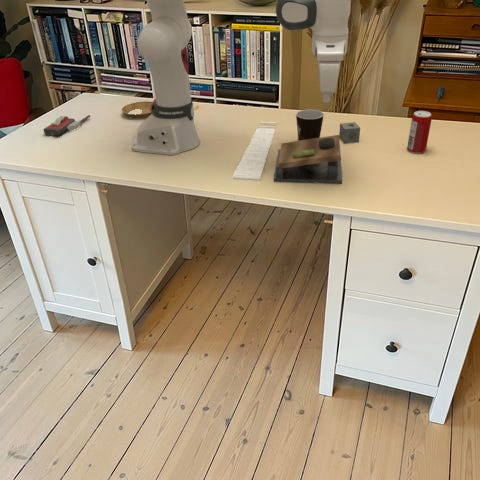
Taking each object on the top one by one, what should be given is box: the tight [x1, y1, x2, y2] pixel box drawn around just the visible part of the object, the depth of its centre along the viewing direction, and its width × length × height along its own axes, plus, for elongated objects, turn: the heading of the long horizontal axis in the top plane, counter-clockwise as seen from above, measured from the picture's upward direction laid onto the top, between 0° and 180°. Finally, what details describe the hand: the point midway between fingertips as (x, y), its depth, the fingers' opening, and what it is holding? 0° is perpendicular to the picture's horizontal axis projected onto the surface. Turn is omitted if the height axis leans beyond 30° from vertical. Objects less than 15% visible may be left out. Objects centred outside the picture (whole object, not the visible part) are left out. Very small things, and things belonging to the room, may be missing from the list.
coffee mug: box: [295, 109, 325, 141], centre depth 158 cm, size 12×9×10 cm
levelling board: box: [278, 134, 342, 168], centre depth 140 cm, size 17×14×3 cm
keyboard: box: [232, 121, 278, 181], centre depth 159 cm, size 45×8×2 cm, turn 169°
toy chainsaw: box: [43, 114, 91, 138], centre depth 179 cm, size 9×4×20 cm
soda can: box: [406, 110, 433, 155], centre depth 149 cm, size 6×6×12 cm
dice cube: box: [338, 121, 361, 145], centre depth 160 cm, size 5×5×5 cm
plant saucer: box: [121, 100, 153, 119], centre depth 189 cm, size 15×15×3 cm
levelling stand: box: [273, 148, 343, 185], centre depth 143 cm, size 19×15×4 cm
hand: (326, 99), depth 132 cm, fingers closed
